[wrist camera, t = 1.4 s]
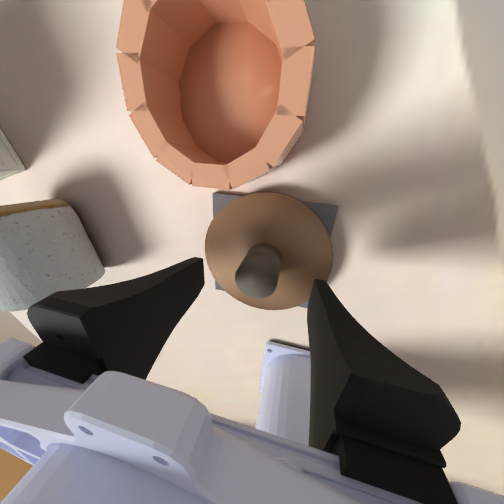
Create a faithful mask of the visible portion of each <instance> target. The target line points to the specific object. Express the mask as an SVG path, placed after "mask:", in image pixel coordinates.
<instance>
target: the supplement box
mask: <svg viewBox="0 0 504 504" xmlns="http://www.w3.org/2000/svg"><path fill="white" fill-rule="evenodd" d="M24 170H25V167H24V165H23V164H22V162H21V160H20V159H19V157H18V155H17V153H16V152H15V150H14V149H13V147H12V146H11V144H10V142H9V141H8V139H7V138H6V136H5V134H4V133H3V131H2V130H1V128H0V179H2V178H5V177H7V176H10V175H13V174H15V173H18V172H21V171H24Z"/></svg>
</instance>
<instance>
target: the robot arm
mask: <svg viewBox="0 0 504 504" xmlns="http://www.w3.org/2000/svg"><path fill="white" fill-rule="evenodd" d="M204 284H205V282H204V266H203V259H202V258H197V257H193V258H190V259H188V260H185V261H183V262H180V263H178V264H175V265H173V266H170V267H168V268H165V269H163V270H160V271H157V272H155V273H152V274H149V275H146V276H143V277H139V278H136V279H132V280H128V281H124V282H119V283H115V284H110V285H105V286H99V287H92V288H85V289H75V290H66V291H57V292H55V293H53V294H51V295H49V296H47V297H46V298H44V299H42V300H40V301H38V302H36V303H35V304H33V305H31V306H30V307H29V308H28V312H27V315H28V319H29V320H30V322H31V324H32V326H33V327H34V329H35V330H36V332H37V333H38V335H39V337H40V338H41V340H42V341H43V342H42V343H41V344H40V345H38V346H37V347H34V346H33V345H32V344H30V343H27V342H24V341H21V340H18V339H15V338H9V339H7V340H6V341H5V342H3V343H1V344H0V448H2V449H4V450H5V451H8V452H9V453H11V454H13V455H15V456H17V457H19V458H21V459H22V460H24V461H26V462H28V463H30V464H32V465H33V467H32V468H31V469H30V470H29V471H28V472H27V474H26V475H25V476H24V477H23V478H22V479H21V481H20V482H19V483H18V484H17V485H16V486H15V487H14V488H13V490H12V491H11V492H10V493H9V494H8V495H7V497H6V498H5V499H4V500H3V501H2V502H1V503H0V504H504V496H502V495H499V494H495V493H492V492H489V491H486V490H483V489H480V488H477V487H474V486H471V485H468V484H464V483H459V482H450V483H449V482H448V480H447V478H446V476H445V473H444V471H443V469H442V468H445V467H446V462H445V459H444V457H443V455H442V453H441V451H440V449H441V448H442V447H443V446H445V445H446V444H447V443H448V442H449V441H451V440H452V439H453V438H454V437H455V436H456V435H457V433H458V432H459V431H460V427H461V422H460V419H459V417H458V415H457V413H456V412H455V410H454V408H453V407H452V405H451V403H450V402H449V400H448V398H447V397H446V395H445V393H444V392H443V390H442V389H441V387H440V386H439V385H438V384H436V383H435V382H433V381H432V380H430V379H429V378H427V377H426V376H424V375H423V374H421V373H420V372H418V371H417V370H415V369H414V368H412V367H411V366H410V365H408V364H407V363H405V362H404V361H403V360H401V359H400V358H399V357H397V356H396V355H395V354H393V353H392V352H391V351H390V350H388V349H387V348H386V347H384V346H383V345H382V344H381V343H380V342H379V341H377V340H376V339H375V338H374V337H373V336H372V335H371V334H369V333H368V332H367V331H366V330H365V329H364V328H363V327H362V326H361V325H360V324H359V323H358V322H357V321H356V320H355V319H354V318H353V317H352V315H351V314H350V313H349V312H348V311H347V310H346V308H345V307H344V306H343V305H342V303H341V302H340V301H339V300H338V298H337V297H336V295H335V294H334V293H333V291H332V290H331V288H330V287H329V285H328V284H327V282H326V281H325V280H320V279H315V278H314V282H313V286H312V290H311V294H310V298H309V302H308V311H307V323H308V335H309V345H310V351H307V350H303V349H299V348H295V347H291V346H287V345H283V344H279V343H275V342H271V341H269V342H267V343H266V346H265V354H264V361H263V368H262V375H261V383H260V390H259V393H260V394H261V399H260V405H259V410H258V416H257V421H256V427H255V428H253V427H250V426H247V425H244V424H241V423H238V422H235V421H232V420H229V419H226V418H223V417H220V416H217V415H214V414H211V413H209V412H208V410H207V408H206V407H205V406H204V405H203V404H202V403H201V402H199V401H198V400H197V399H196V398H194V397H192V396H190V395H188V394H185V393H183V392H181V391H178V390H175V389H172V388H169V387H165V386H162V385H159V384H156V383H153V382H150V381H147V380H146V378H147V376H148V374H149V372H150V370H151V368H152V366H153V364H154V362H155V360H156V358H157V357H158V355H159V353H160V351H161V349H162V348H163V346H164V344H165V342H166V341H167V339H168V337H169V336H170V334H171V332H172V331H173V329H174V328H175V326H176V325H177V323H178V322H179V321H180V319H181V318H182V317H183V315H184V314H185V313H186V311H187V310H188V309H189V307H190V306H191V305H192V303H193V302H194V301H195V299H196V298H197V297H198V295H199V293H200V292H201V290H202V288H203V286H204Z"/></svg>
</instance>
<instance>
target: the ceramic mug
mask: <svg viewBox="0 0 504 504" xmlns="http://www.w3.org/2000/svg"><path fill="white" fill-rule="evenodd" d="M104 273H105V269H104V267H103V265H102V263H101V261H100V259H99V257H98V255H97V253H96V251H95V249H94V247H93V245H92V243H91V241H90V240H89V238H88V236H87V234H86V232H85V229H84V227H83V225H82V223H81V221H80V219H79V217H78V215H77V214H76V212H75V211H74V210H73V208H72V207H71V206H70V204H69V203H67V202H66V201H64V200H61V199H51V200H43V201H35V202H27V203H19V204H12V205H4V206H0V310H2V311H8V312H9V311H20V310H27V309H28V308H29V307H30V306H31V305H33V304H35V303H36V302H38V301H40V300H42V299H44V298H46V297H47V296H49V295H51V294H53V293H55V292H57V291H66V290H75V289H84V288H86V287H88V286H89V285H91V284H93V283H94V282H96V281H97V280H99V279H100V278H101V277H102V276H103V275H104Z"/></svg>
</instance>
